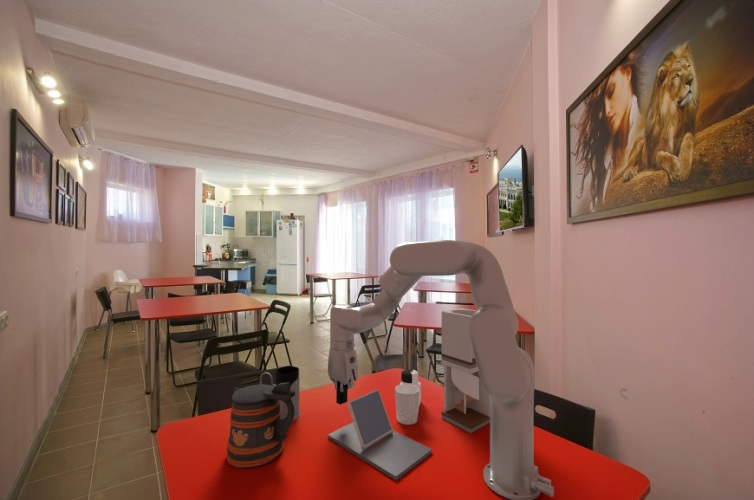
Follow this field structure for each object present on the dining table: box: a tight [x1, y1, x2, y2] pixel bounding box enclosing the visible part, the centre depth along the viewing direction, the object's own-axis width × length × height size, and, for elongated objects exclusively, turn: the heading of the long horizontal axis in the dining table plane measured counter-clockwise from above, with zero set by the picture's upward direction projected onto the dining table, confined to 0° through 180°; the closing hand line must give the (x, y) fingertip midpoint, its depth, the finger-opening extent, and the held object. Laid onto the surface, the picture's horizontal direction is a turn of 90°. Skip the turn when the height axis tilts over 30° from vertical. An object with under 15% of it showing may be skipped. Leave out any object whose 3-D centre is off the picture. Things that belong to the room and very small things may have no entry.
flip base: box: [327, 421, 433, 481], centre depth 92 cm, size 26×15×1 cm, turn 46°
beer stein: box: [226, 382, 295, 469], centre depth 88 cm, size 19×15×20 cm
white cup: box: [394, 384, 420, 426], centre depth 106 cm, size 8×8×10 cm
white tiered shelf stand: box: [441, 307, 490, 434], centre depth 106 cm, size 11×11×35 cm
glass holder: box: [259, 365, 302, 421], centre depth 109 cm, size 9×14×15 cm, turn 81°
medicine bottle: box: [399, 368, 422, 409], centre depth 117 cm, size 7×7×12 cm
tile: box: [346, 388, 394, 450], centre depth 94 cm, size 13×12×1 cm
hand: (341, 402), depth 103 cm, fingers closed
